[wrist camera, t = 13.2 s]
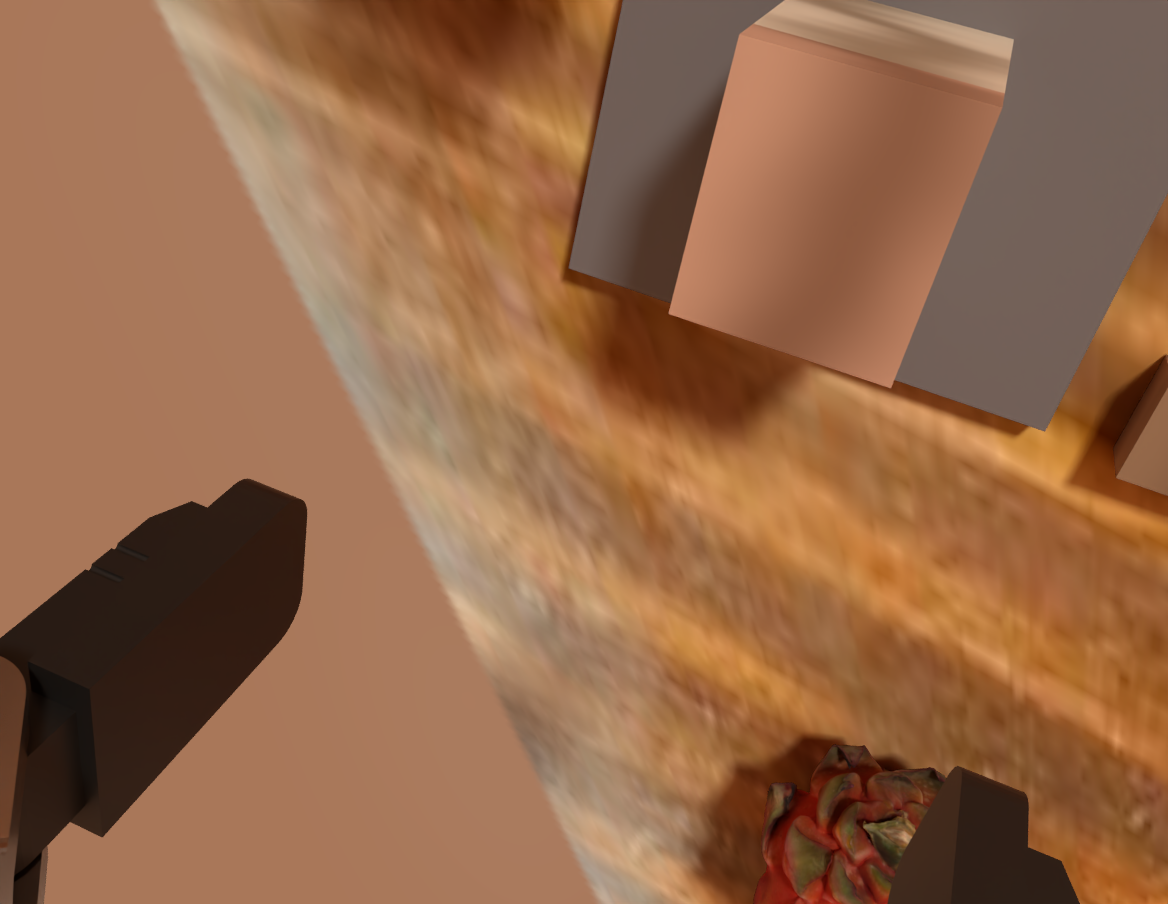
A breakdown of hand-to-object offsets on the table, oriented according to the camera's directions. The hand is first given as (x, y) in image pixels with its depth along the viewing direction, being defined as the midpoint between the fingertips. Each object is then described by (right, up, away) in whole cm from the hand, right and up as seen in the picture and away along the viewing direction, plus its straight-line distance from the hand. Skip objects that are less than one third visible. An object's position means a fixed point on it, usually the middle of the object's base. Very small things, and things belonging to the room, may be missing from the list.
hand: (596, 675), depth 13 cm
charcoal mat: (+7, +11, +16) cm, 21 cm away
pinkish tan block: (+7, +10, +16) cm, 20 cm away
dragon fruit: (+11, -11, +27) cm, 31 cm away
